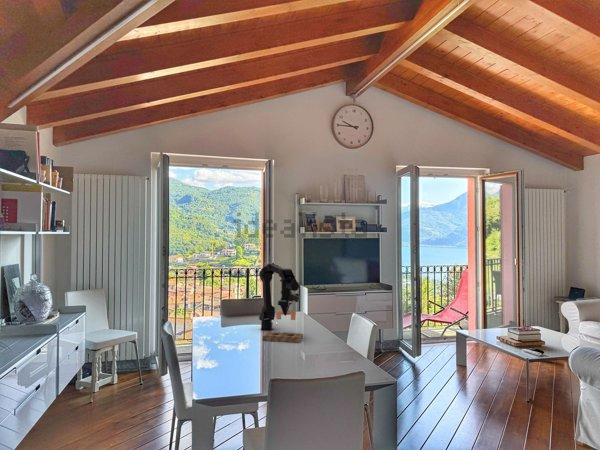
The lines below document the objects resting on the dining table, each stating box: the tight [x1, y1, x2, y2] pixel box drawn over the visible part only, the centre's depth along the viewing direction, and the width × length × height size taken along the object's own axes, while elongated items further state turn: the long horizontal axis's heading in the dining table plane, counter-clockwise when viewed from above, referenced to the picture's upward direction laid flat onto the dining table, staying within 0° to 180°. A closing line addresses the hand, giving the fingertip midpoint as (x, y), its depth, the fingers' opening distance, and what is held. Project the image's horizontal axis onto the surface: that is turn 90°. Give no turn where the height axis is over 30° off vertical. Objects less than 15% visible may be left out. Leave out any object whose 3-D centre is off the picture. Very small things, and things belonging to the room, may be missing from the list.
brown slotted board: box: [262, 331, 304, 344], centre depth 239 cm, size 22×10×3 cm, turn 79°
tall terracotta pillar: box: [275, 310, 297, 321], centre depth 247 cm, size 12×3×5 cm, turn 80°
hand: (285, 315), depth 247 cm, fingers closed on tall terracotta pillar, 3 cm apart
